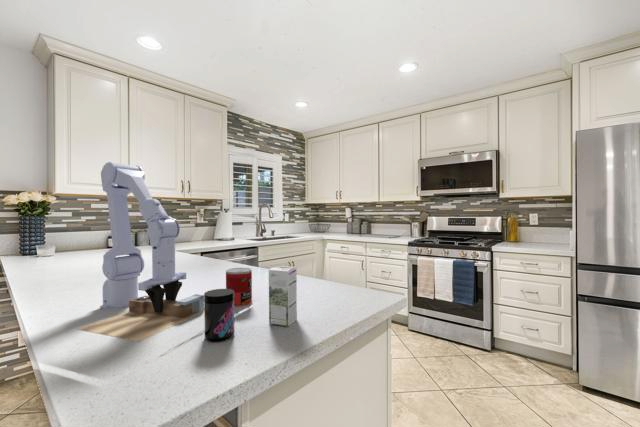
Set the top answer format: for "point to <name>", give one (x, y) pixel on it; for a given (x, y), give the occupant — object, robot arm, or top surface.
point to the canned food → (240, 285)
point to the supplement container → (219, 314)
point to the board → (134, 325)
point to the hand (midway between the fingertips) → (164, 309)
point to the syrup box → (282, 295)
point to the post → (143, 298)
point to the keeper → (194, 302)
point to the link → (168, 308)
